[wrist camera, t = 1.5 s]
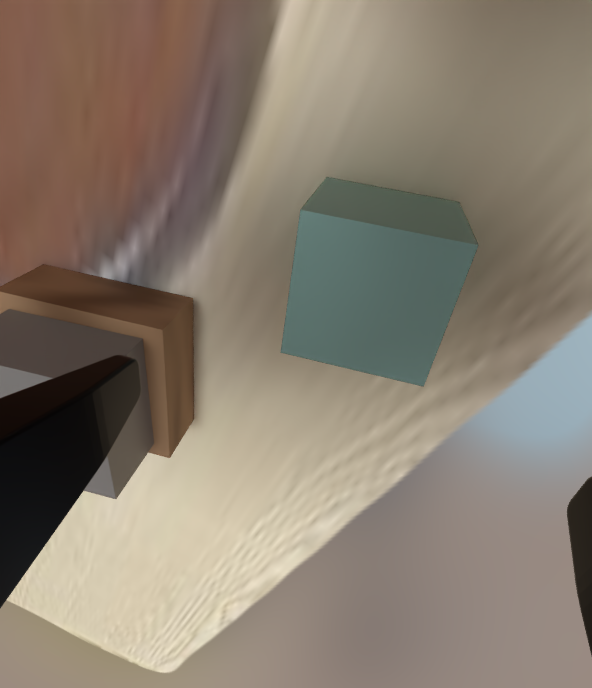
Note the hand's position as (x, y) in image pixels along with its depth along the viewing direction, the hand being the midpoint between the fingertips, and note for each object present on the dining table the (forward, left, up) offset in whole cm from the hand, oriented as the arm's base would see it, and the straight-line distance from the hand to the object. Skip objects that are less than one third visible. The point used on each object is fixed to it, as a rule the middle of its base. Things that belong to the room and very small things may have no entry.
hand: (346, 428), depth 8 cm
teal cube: (0, 0, -11) cm, 11 cm away
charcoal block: (+12, +8, -8) cm, 16 cm away
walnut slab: (+12, +8, -11) cm, 18 cm away
